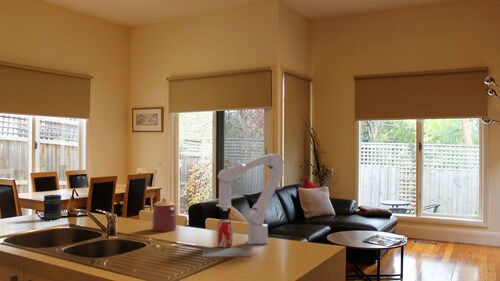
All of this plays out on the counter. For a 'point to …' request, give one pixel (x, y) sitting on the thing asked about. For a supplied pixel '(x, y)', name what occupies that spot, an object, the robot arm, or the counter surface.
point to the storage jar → (52, 207)
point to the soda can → (224, 233)
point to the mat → (226, 252)
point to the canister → (164, 216)
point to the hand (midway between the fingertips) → (224, 224)
